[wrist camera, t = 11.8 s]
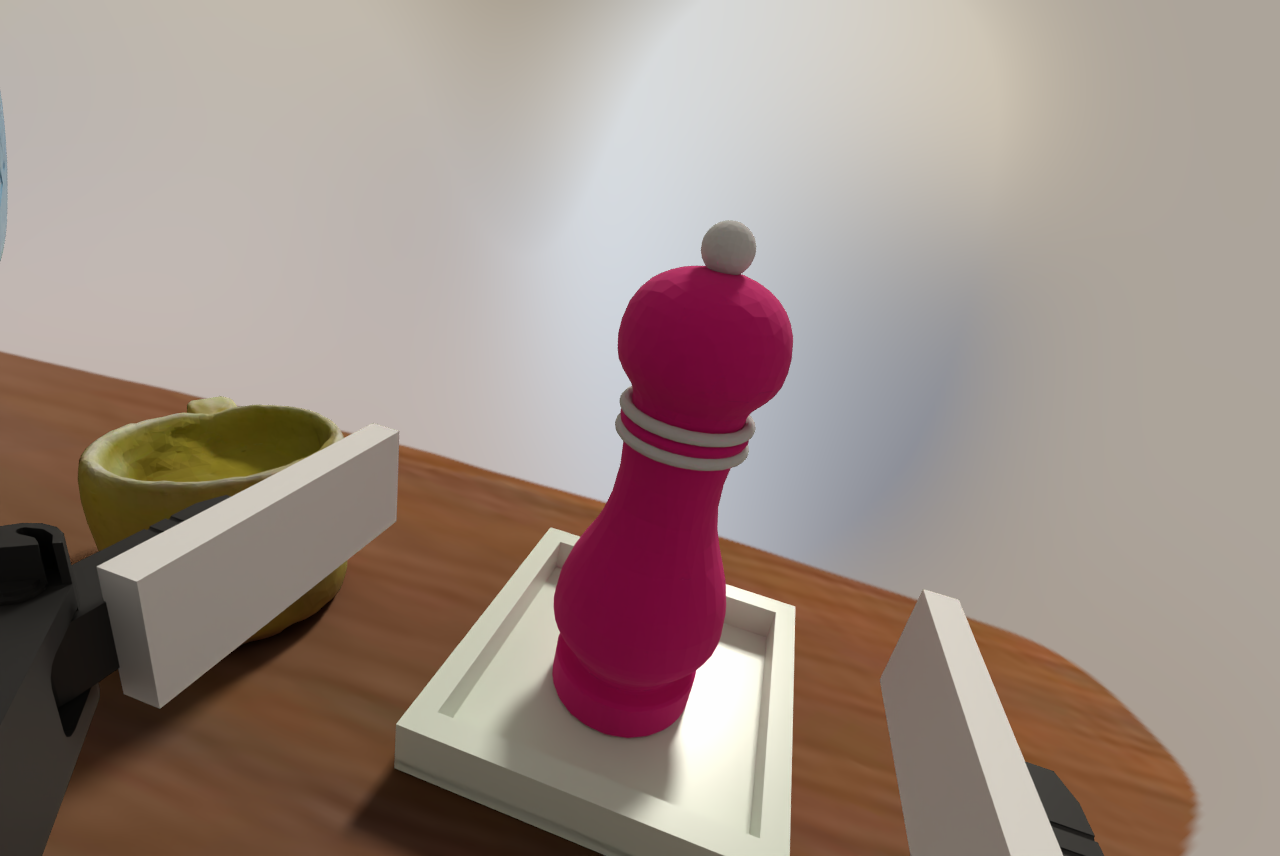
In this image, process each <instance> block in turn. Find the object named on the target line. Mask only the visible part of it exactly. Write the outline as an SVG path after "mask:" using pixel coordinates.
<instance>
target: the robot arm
mask: <svg viewBox="0 0 1280 856" xmlns="http://www.w3.org/2000/svg"><path fill="white" fill-rule="evenodd" d="M6 156H7V155H6V139H5V126H4V117H3V107H2V99H1V93H0V261H1V257H2V253H3V248H4V241H5V236H6V224H7V157H6ZM398 455H399V431H397V430H394V429H390V428H387V427H384V426H381V425H377V424H374V423H372V424H370V425H369V426H367V427H365V428H363V429H361V430H359V431H357V432H355V433H353V434H351V435H349V436H347V437H345V438H343V439H342V440H340V441H338V442H336V443H334V444H332V445H330V446H328V447H326V448H324V449H322V450H320V451H318V452H316V453H315V454H313V455H311V456H309V457H307V458H305V459H303V460H301V461H299V462H297V463H295V464H293V465H291V466H289V467H288V468H286V469H284V470H282V471H280V472H278V473H276V474H274V475H272V476H270V477H268V478H266V479H264V480H263V481H261V482H259V483H257V484H255V485H253V486H251V487H249V488H247V489H245V490H243V491H241V492H239V493H237V494H236V495H234V496H232V497H231V496H228V495H224V496H220V497H217V498H213V499H209V500H206V501H202V502H198V503H195V504H193V505H191V506H189V507H187V508H185V509H183V510H181V511H179V512H177V513H175V514H173V515H171V517H170V518H169V519H166V518H165V519H163V520H161V521H159V522H157V523H155V524H153V525H151V526H150V527H149V529H148V530H146V529H143V530H141V531H139V532H137V533H135V534H133V535H131V536H129V537H127V538H125V539H123V540H121V541H119V542H117V543H115V544H113V545H111V546H109V547H107V548H105V549H103V550H101V551H99V552H97V553H95V554H93V555H91V556H89V557H87V558H85V559H83V560H81V561H79V562H77V563H75V564H73V565H71V562H70V558H69V554H68V550H67V545H66V541H65V537H64V533H63V532H61V531H60V530H59V529H58V528H57V527H54V526H50V525H47V524H43V523H19V524H12V525H5V526H0V856H42V854H43V852H44V849H45V846H46V843H47V841H48V838H49V835H50V833H51V830H52V827H53V824H54V822H55V819H56V816H57V813H58V811H59V808H60V805H61V802H62V800H63V797H64V794H65V792H66V789H67V786H68V783H69V781H70V778H71V775H72V772H73V770H74V767H75V764H76V761H77V759H78V756H79V753H80V751H81V748H82V745H83V742H84V740H85V737H86V734H87V731H88V729H89V726H90V723H91V720H92V718H93V715H94V712H95V710H96V707H97V704H98V701H99V698H100V687H99V682H100V681H101V680H102V679H104V678H105V677H107V676H108V675H110V674H111V673H113V672H114V671H116V670H117V669H118V670H119V675H120V680H121V684H122V689H123V694H125V695H127V696H130V697H132V698H135V699H137V700H140V701H142V702H144V703H147V704H149V705H152V706H154V707H157V708H159V709H160V708H162V707H163V706H164V705H165V704H167V703H168V702H169V701H170V700H172V699H173V698H174V697H175V696H177V695H178V694H179V693H180V692H182V691H183V690H184V689H185V688H187V687H188V686H189V685H190V684H192V683H193V682H194V681H196V680H197V679H198V678H199V677H201V676H202V675H203V674H204V673H206V672H207V671H208V670H209V669H211V668H212V667H213V666H214V665H216V664H217V663H218V662H219V661H221V660H222V659H223V658H225V657H226V656H227V655H228V654H230V653H231V652H232V651H233V650H235V649H236V648H237V647H238V646H240V645H241V644H242V643H243V642H245V641H246V640H247V639H248V638H250V637H251V636H252V635H253V634H255V633H256V632H257V631H259V630H260V629H261V628H262V627H264V626H265V625H266V624H267V623H269V622H270V621H271V620H272V619H274V618H275V617H276V616H277V615H279V614H280V613H281V612H282V611H284V610H285V609H286V608H287V607H289V606H290V605H291V604H293V603H294V602H295V601H296V600H298V599H299V598H300V597H301V596H303V595H304V594H305V593H306V592H308V591H309V590H310V589H311V588H313V587H314V586H315V585H316V584H318V583H319V582H320V581H322V580H323V579H324V578H325V577H327V576H328V575H329V574H330V573H332V572H333V571H334V570H335V569H337V568H338V567H339V566H340V565H342V564H343V563H344V562H345V561H347V560H348V559H349V558H350V557H352V556H353V555H354V554H356V553H357V552H358V551H359V550H361V549H362V548H363V547H364V546H366V545H367V544H368V543H369V542H371V541H372V540H373V539H374V538H376V537H377V536H378V535H379V534H381V533H382V532H383V531H384V530H386V529H387V528H388V527H390V526H391V525H392V524H393V523H395V522H396V514H397V485H398ZM880 683H881V689H882V695H883V700H884V706H885V712H886V718H887V723H888V729H889V735H890V740H891V746H892V752H893V758H894V763H895V769H896V775H897V781H898V786H899V792H900V798H901V803H902V809H903V815H904V821H905V826H906V832H907V838H908V843H909V849H910V855H911V856H1104V855H1103V853H1102V850H1101V848H1100V846H1099V844H1098V842H1095V841H1094V833H1093V831H1092V829H1091V827H1090V825H1089V823H1088V821H1087V819H1086V816H1085V814H1084V812H1083V810H1082V808H1081V806H1080V804H1079V802H1078V801H1077V800H1076V799H1075V797H1074V796H1073V795H1072V794H1071V792H1070V791H1069V790H1068V789H1067V787H1066V786H1065V785H1064V784H1063V782H1062V781H1061V780H1060V779H1059V777H1058V776H1057V775H1056V774H1055V773H1054V771H1051V770H1048V769H1045V768H1042V767H1040V766H1037V765H1034V764H1031V763H1028V762H1025V761H1024V758H1023V756H1022V753H1021V751H1020V749H1019V746H1018V744H1017V741H1016V739H1015V736H1014V734H1013V731H1012V729H1011V727H1010V724H1009V722H1008V719H1007V717H1006V714H1005V712H1004V709H1003V707H1002V705H1001V702H1000V700H999V697H998V695H997V692H996V690H995V687H994V685H993V683H992V680H991V678H990V675H989V673H988V670H987V668H986V665H985V663H984V661H983V658H982V656H981V653H980V651H979V648H978V646H977V643H976V641H975V639H974V636H973V634H972V631H971V629H970V626H969V624H968V621H967V619H966V617H965V614H964V612H963V609H962V607H961V604H960V602H959V600H957V599H954V598H951V597H948V596H944V595H941V594H937V593H934V592H931V591H928V590H924V589H923V591H922V593H921V595H920V597H919V599H918V601H917V603H916V605H915V607H914V609H913V611H912V614H911V616H910V618H909V620H908V622H907V624H906V626H905V628H904V630H903V632H902V634H901V637H900V639H899V641H898V643H897V645H896V647H895V649H894V651H893V653H892V655H891V657H890V659H889V662H888V664H887V666H886V668H885V670H884V672H883V674H882V676H881V678H880Z"/></svg>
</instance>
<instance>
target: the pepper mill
mask: <svg viewBox="0 0 1280 856" xmlns="http://www.w3.org/2000/svg"><path fill="white" fill-rule="evenodd" d="M755 253H756V243H755V238H754V236H753V234H752V232H751V231H750V230H749V229H748V228H747V227H746V226H745V225H743V224H742V223H740V222H736V221H723V222H719V223H717V224H715V225H714V226H713V227H712V228H711V229H709V231H708V232H707V233H706V234H705V236H704V238H703V241H702V247H701V254H702V259H703V261H704V263H705V265H706V266H685V267H680V268H675V269H671V270H668V271H665V272H663V273H660V274H658V275H656V276H654V277H652V278H651V279H650V280H649V281H647V282H646V283H645V284H644V285H643V286H642V287H640V289H639V290H638V291H637V292H636V293H635V295H634V296H633V297H632V299H631V300H630V302H629V304H628V306H627V308H626V311H625V313H624V315H623V317H622V321H621V325H620V329H619V333H618V355H619V360H620V362H621V364H622V367H623V369H624V371H625V373H626V374H627V376H628V378H629V380H630V381H631V383H632V386H631V387H629V388H627V389H626V390H625V391H624V392H623V393H622V395H621V397H620V406H621V413H620V414H619V415H618V416H617V419H616V422H615V426H616V431H617V433H618V434H619V436H620V437H621V438H622V440H623V449H622V457H621V464H620V468H619V471H618V474H617V478H616V481H615V484H614V488H613V491H612V493H611V495H610V497H609V499H608V501H607V503H606V505H605V507H604V509H603V510H602V511H601V513H600V514H599V516H598V517H597V518H596V519H595V521H594V522H593V523H592V524H591V525H590V526H589V527H588V528H587V530H586V531H585V532H584V533H583V535H582V536H581V537H580V538H579V540H578V541H577V542H576V543H575V545H574V547H573V548H572V550H571V552H570V554H569V555H568V557H567V559H566V561H565V563H564V564H563V566H562V569H561V572H560V576H559V579H558V582H557V586H556V590H555V594H554V615H555V621H556V624H557V627H558V629H559V631H560V634H559V637H558V641H557V647H556V652H555V657H554V663H553V671H552V676H553V683H554V686H555V689H556V692H557V694H558V697H559V699H560V700H561V701H562V703H563V704H564V706H565V707H566V708H567V710H568V711H569V712H570V713H571V714H572V715H573V716H574V717H576V718H577V719H578V720H579V721H581V722H582V723H583V724H585V725H586V726H588V727H591V728H593V729H595V730H597V731H599V732H601V733H603V734H607V735H612V736H618V737H624V738H633V737H643V736H649V735H652V734H655V733H657V732H660V731H662V730H664V729H666V728H667V727H669V726H670V725H672V724H673V723H674V722H675V721H676V720H677V719H678V718H679V717H680V715H681V714H682V713H683V711H684V709H685V707H686V704H687V701H688V698H689V695H690V692H691V689H692V686H693V683H694V679H695V675H696V670H697V669H698V668H700V667H701V666H702V665H703V664H704V663H705V662H706V661H707V660H708V659H709V658H710V657H711V656H712V654H713V653H714V651H715V649H716V647H717V646H718V644H719V640H720V637H721V634H722V629H723V624H724V619H725V614H726V583H725V575H724V570H723V564H722V559H721V553H720V547H719V539H718V532H717V522H718V506H719V501H720V497H721V493H722V489H723V485H724V482H725V480H726V478H727V475H728V473H729V471H730V468H732V467H735V466H738V465H739V464H741V463H742V462H743V461H744V460H745V459H746V458H747V455H748V452H749V450H748V441H749V439H751V438H752V436H753V434H754V432H755V423H754V421H753V419H752V417H751V416H750V415H749V414H750V413H751V412H753V411H754V410H756V409H757V408H759V407H761V406H762V405H764V404H766V403H767V402H768V401H769V400H771V399H772V398H773V397H774V396H775V395H776V394H777V392H778V391H779V390H780V389H781V387H782V386H783V383H784V381H785V379H786V376H787V374H788V371H789V367H790V363H791V358H792V347H793V335H792V329H791V324H790V321H789V318H788V315H787V313H786V311H785V309H784V308H783V306H782V305H781V303H780V302H779V300H778V299H777V298H776V297H775V296H774V295H773V294H772V293H771V292H770V291H769V290H768V289H766V288H765V287H764V286H762V285H761V284H759V283H758V282H756V281H754V280H752V279H750V278H748V277H746V276H744V275H741V273H743V272H744V271H745V270H746V269H747V268H748V267H749V266H750V265H751V263H752V261H753V259H754V257H755Z"/></svg>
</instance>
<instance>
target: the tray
mask: <svg viewBox="0 0 1280 856" xmlns="http://www.w3.org/2000/svg"><path fill="white" fill-rule="evenodd" d="M579 538H580V537H579V536H576V535H573V534H570V533H567V532H564V531H560V530H557V529H554V528H550V529H549V530H548V531H547V533H546V534H545V535H544V537H543V538H542V539H541V540H540V542H539V543H538V544H537V545H536V547H535V548H534V549H533V551H532V552H531V553H530V554H529V556H528V557H527V558H526V559H525V561H524V562H523V563H522V565H521V566H520V567H519V568H518V570H517V571H516V572H515V573H514V575H513V576H512V577H511V579H510V580H509V581H508V582H507V584H506V585H505V586H504V587H503V589H502V590H501V591H500V593H499V594H498V595H497V596H496V598H495V599H494V600H493V601H492V603H491V604H490V605H489V607H488V608H487V609H486V610H485V612H484V613H483V614H482V616H481V617H480V618H479V619H478V621H477V622H476V623H475V624H474V626H473V627H472V628H471V630H470V631H469V632H468V633H467V635H466V636H465V637H464V638H463V640H462V641H461V642H460V644H459V645H458V646H457V647H456V649H455V650H454V651H453V652H452V654H451V655H450V656H449V658H448V659H447V660H446V661H445V663H444V664H443V665H442V666H441V668H440V669H439V670H438V672H437V673H436V674H435V675H434V677H433V678H432V679H431V680H430V682H429V683H428V684H427V686H426V687H425V688H424V689H423V691H422V692H421V693H420V694H419V696H418V697H417V698H416V700H415V701H414V702H413V703H412V705H411V706H410V707H409V709H408V710H407V711H406V712H405V714H404V715H403V716H402V717H401V719H400V720H399V721H398V723H397V724H396V741H395V765H394V768H396V769H398V770H400V771H403V772H405V773H408V774H410V775H412V776H415V777H417V778H420V779H422V780H424V781H427V782H429V783H432V784H434V785H437V786H439V787H441V788H444V789H446V790H449V791H451V792H453V793H456V794H458V795H461V796H463V797H465V798H468V799H470V800H473V801H475V802H478V803H480V804H482V805H485V806H487V807H490V808H492V809H494V810H497V811H499V812H502V813H504V814H507V815H509V816H511V817H514V818H516V819H519V820H521V821H523V822H526V823H528V824H531V825H533V826H535V827H538V828H540V829H543V830H545V831H548V832H550V833H552V834H555V835H557V836H560V837H562V838H564V839H567V840H569V841H572V842H574V843H576V844H579V845H581V846H584V847H586V848H589V849H591V850H593V851H596V852H598V853H601V854H603V855H605V856H790V818H791V773H792V729H793V684H794V640H795V606H792V605H789V604H785V603H782V602H779V601H776V600H773V599H770V598H767V597H764V596H761V595H758V594H755V593H752V592H748V591H745V590H742V589H739V588H736V587H733V586H730V585H727V584H726V614H725V619H724V624H723V629H722V634H721V637H720V640H719V644H718V646H717V647H716V649H715V651H714V653H713V654H712V656H711V657H710V658H709V659H708V660H707V661H706V662H705V663H704V664H703V665H702V666H701V667H700V668H698V669H697V670H696V675H695V679H694V683H693V686H692V689H691V692H690V695H689V698H688V701H687V704H686V707H685V709H684V711H683V713H682V714H681V715H680V717H679V718H678V719H677V720H676V721H675V722H674V723H673V724H672V725H670V726H669V727H667V728H666V729H664V730H662V731H660V732H657V733H655V734H652V735H649V736H643V737H633V738H624V737H618V736H612V735H607V734H603V733H601V732H599V731H597V730H595V729H593V728H591V727H588V726H586V725H585V724H583V723H582V722H581V721H579V720H578V719H577V718H576V717H574V716H573V715H572V714H571V713H570V712H569V711H568V710H567V708H566V707H565V706H564V704H563V703H562V701H561V700H560V699H559V697H558V694H557V692H556V689H555V686H554V683H553V676H552V671H553V663H554V657H555V652H556V647H557V641H558V637H559V634H560V631H559V629H558V627H557V624H556V621H555V615H554V594H555V590H556V586H557V582H558V579H559V576H560V572H561V569H562V566H563V564H564V563H565V561H566V559H567V557H568V555H569V554H570V552H571V550H572V548H573V547H574V545H575V543H576V542H577V541H578V540H579Z"/></svg>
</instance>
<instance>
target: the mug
mask: <svg viewBox="0 0 1280 856" xmlns="http://www.w3.org/2000/svg"><path fill="white" fill-rule="evenodd" d="M343 438H344V437H343V434H342V432H341V430H340V429H339V428H338V427H337V426H336V424H334V423H333V422H332V421H331V420H330V419H328V418H325V417H323V416H322V415H320V414H319V413H316V412H313V411H310V410H305V409H302V408H296V407H289V406H275V405H250V406H240V407H237V406H236V404H235V403H234V402H233V401H232V400H231V399H229V398H226V397H221V396H220V397H214V398H208V399H201V400H194V401H191V402H190V403H189V404H188V405H187V413H177V414H173V415H169V416H166V417H161V418H155V419H150V420H145V421H142V422H139V423H136V424H128V425H125V426H123V427H121V428H119V429H116V430H113V431H110V432H109V433H107V434H105V435H104V436H102V437H100V438H99V439H97V440H96V441H95V442H93V443H92V444H91V445H90V446H89V447H87V448H86V449H85V451H84V452H83V454H82V455H81V458H80V460H79V468H78V484H79V491H80V498H81V503H82V506H83V510H84V513H85V516H86V520H87V523H88V525H89V528H90V530H91V533H92V535H93V538H94V540H95V543H96V545H97V548H98V550H99V551H101V550H103V549H105V548H107V547H109V546H111V545H113V544H115V543H117V542H119V541H121V540H123V539H125V538H127V537H129V536H131V535H133V534H135V533H137V532H139V531H141V530H143V529H146V530H148V529H149V527H150V526H151V525H153V524H155V523H157V522H159V521H161V520H163V519H165V518H166V519H169V518H170V517H171V515H173V514H175V513H177V512H179V511H181V510H183V509H185V508H187V507H189V506H191V505H193V504H195V503H198V502H202V501H206V500H209V499H213V498H217V497H220V496H224V495H228V496H231V497H232V496H234V495H236V494H237V493H239V492H241V491H243V490H245V489H247V488H249V487H251V486H253V485H255V484H257V483H259V482H261V481H263V480H264V479H266V478H268V477H270V476H272V475H274V474H276V473H278V472H280V471H282V470H284V469H286V468H288V467H289V466H291V465H293V464H295V463H297V462H299V461H301V460H303V459H305V458H307V457H309V456H311V455H313V454H315V453H316V452H318V451H320V450H322V449H324V448H326V447H328V446H330V445H332V444H334V443H336V442H338V441H340V440H342V439H343ZM346 569H347V561H345V562H344V563H343V564H342V565H340V566H339V567H338V568H337V569H335V570H334V571H333V572H332V573H330V574H329V575H328V576H327V577H325V578H324V579H323V580H322V581H320V582H319V583H318V584H316V585H315V586H314V587H313V588H311V589H310V590H309V591H308V592H306V593H305V594H304V595H303V596H301V597H300V598H299V599H298V600H296V601H295V602H294V603H293V604H291V605H290V606H289V607H287V608H286V609H285V610H284V611H282V612H281V613H280V614H279V615H277V616H276V617H275V618H274V619H272V620H271V621H270V622H269V623H267V624H266V625H265V626H264V627H262V628H261V629H260V630H259V631H257V632H256V633H255V634H253V635H252V636H251V637H250V638H248V639H247V640H246V641H245V642H243V643H242V644H241V645H243V644H245V643H248V642H250V641H254V640H260V639H264V638H267V637H271V636H273V635H276V634H278V633H280V632H281V631H282V630H284V629H285V628H286V627H288V626H290V625H291V624H293V623H296V622H299V621H302V620H304V619H307V618H308V617H310V616H312V615H313V614H315V613H316V612H318V611H319V610H320V609H321V608H322V607H323V606H324V605H325V604H326V603H327V602H329V601H330V600H332V598H333V597H334V596H335V595H336V594H337V593H338V591H339V590H340V588H341V586H342V583H343V580H344V577H345V574H346Z"/></svg>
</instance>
